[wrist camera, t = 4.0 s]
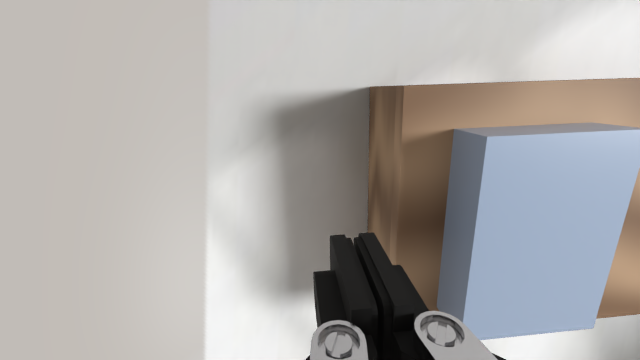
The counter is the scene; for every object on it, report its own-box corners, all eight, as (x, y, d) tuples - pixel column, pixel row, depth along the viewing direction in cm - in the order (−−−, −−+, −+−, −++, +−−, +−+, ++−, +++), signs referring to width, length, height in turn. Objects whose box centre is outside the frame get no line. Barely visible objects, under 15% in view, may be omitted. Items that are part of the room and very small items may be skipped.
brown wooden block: (606, 257, 25) (701, 307, 19) (366, 277, 23) (391, 339, 17) (656, 77, 21) (796, 72, 15) (369, 86, 19) (404, 85, 13)
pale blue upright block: (552, 295, 18) (593, 328, 15) (436, 306, 17) (460, 342, 15) (592, 122, 15) (650, 128, 12) (453, 128, 14) (487, 136, 12)
